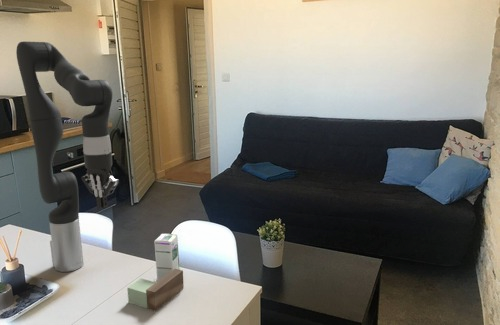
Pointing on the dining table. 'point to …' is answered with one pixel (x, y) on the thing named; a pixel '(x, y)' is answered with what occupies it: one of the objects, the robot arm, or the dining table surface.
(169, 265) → the syrup box
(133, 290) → the sage block
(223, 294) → the dining table surface
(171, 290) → the walnut board
